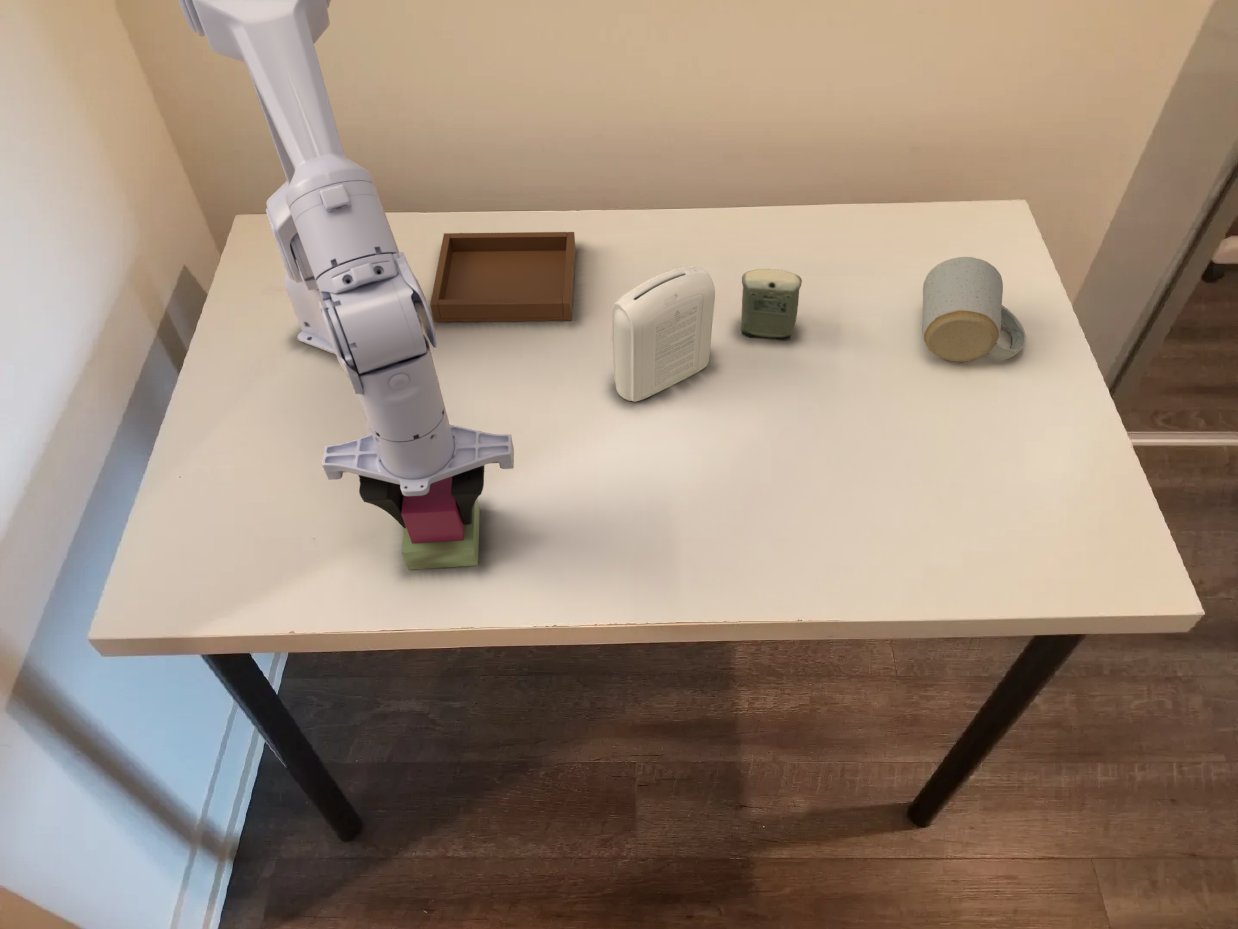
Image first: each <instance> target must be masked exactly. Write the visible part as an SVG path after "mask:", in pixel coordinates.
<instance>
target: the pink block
mask: <svg viewBox="0 0 1238 929" xmlns="http://www.w3.org/2000/svg"><path fill="white" fill-rule="evenodd" d="M451 487H452V476H451V477H448V478H446V479H443V480H440V481H437V482H434V483H432V484H431V485H430V490H429V492H428V493H427V494H426V495H422V496H404V495H403V501H402V511H401V515H402V518H403V520H404V523H405V526H406V529H407V531H408V534H409V537H410V540H411V542H412V543H428V542H444V541H460V540H464V527H465V525H463V523H462V520H461V514H460V509H459V506H458V503H457V501H456V500H455V498H454V497H453V496H452V494H451Z"/></svg>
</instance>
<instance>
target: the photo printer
mask: <svg viewBox="0 0 1238 929" xmlns="http://www.w3.org/2000/svg"><path fill="white" fill-rule="evenodd" d="M715 300H716V289H715V284H714V281H713V278H712V276H711V274H710V272H709V271H706V270H705V269H704V268H703V266H702V265H689V266H683V267H678V268H674V269H671V270H668V271H666V272H662V273H660V274H658V275H656V276H654V277H651V278H650V279H648V280H645V281H643V282H642V283H639V285H637V286H635V287H634V288H632V289H630V290H629V291H628V292H626V293H625V294H624V295H622V296H621V297H620V298H619V299H617V301H616V302H615V303H614V304H613V306H612V308H611V330H612V331H611V332H612V333H611V334H612V336H611V337H612V338H611V339H612V370H613V371H612V372H613V380H614V382H615V389H616V392H617V394H618V395H619V396H620V397H621V398H622V399H624V400H626V401H628V402H631V401H632V402H634V403H635V402H639V401H642V400H645V399H647V398H649V397H651V396H654V395H655V394H657V393H660V392H662V391H663V390H666V389H668V388H670V387H672V386H674V385H675V384H678V383H679V382H681V381H683V380H686V379H687V378H689V377H692V376H694V375H695V374H697V373H698V372H700V371H702V370H703V369H705V368H706V367H707V366H708V365H709V363H710V357H711V356H710V355H711V344H712V332H713V320H714V310H715Z"/></svg>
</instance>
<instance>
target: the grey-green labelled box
mask: <svg viewBox="0 0 1238 929" xmlns="http://www.w3.org/2000/svg"><path fill="white" fill-rule="evenodd" d="M802 282H803V279H802V278H801V276H800V275H798V274H797V273H793V272H791V271H787V270H783V269H776V268H775V269H774V268H758V269H757V268H756V269H753V270H749V271H746V272H744V273H743V274H742V275H741V284H742V295H741V319H740V320H741V321H740V322H741V323H740V331H741V334H742V335H743V336H744V337H747V338H751V339H766V340H780V341H787V340H789V339H791V338H792V335H793V333H794V329H795V326H796V321H797V316H798V309H799V302H800V301H799V299H800V289H801V287H802Z"/></svg>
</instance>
